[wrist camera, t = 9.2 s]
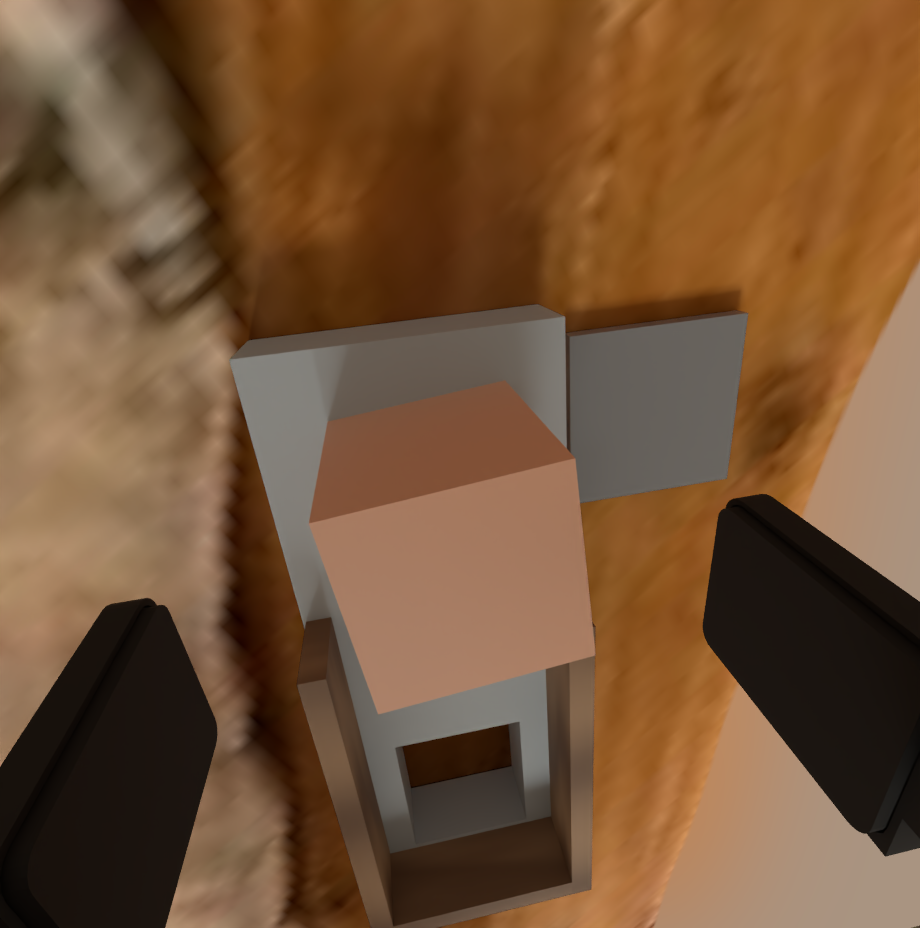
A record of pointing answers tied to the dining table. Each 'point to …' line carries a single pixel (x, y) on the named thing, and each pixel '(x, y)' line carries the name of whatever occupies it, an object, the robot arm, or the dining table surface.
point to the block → (453, 544)
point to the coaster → (653, 403)
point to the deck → (290, 497)
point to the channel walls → (470, 857)
